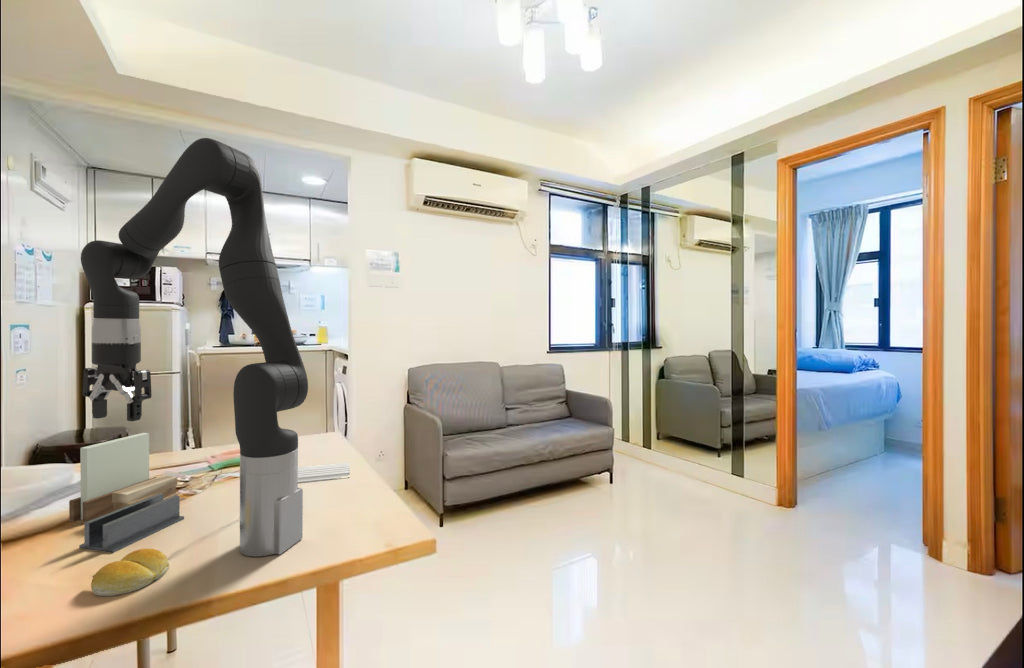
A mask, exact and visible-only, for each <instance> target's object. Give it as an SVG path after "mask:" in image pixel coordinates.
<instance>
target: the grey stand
mask: <svg viewBox="0 0 1024 668" xmlns="http://www.w3.org/2000/svg"><path fill="white" fill-rule="evenodd" d="M180 498H181V497H180V495H178V494H177V495H175V496H172V497H170V498H167V499H165V500H163V494H157V495H154V496H152V497H149V498H146V499H144V500H141V501H139V502H136V503H134V504H131V505H129V506H126V507H123V508H121V509H118V510H116V511H113V512H111V513H108V514H105V515H103V516H100V517H98V518H95V519H93V520H90V521H87V522H85V523H83V524H84V525H83V526H84V527H83V528H84V535H83V536H84V542H83V543H82V544H79V546H78V547H79V549H81V550H88V551H95V552H103V553H108V554H109V553H111V554H114V553H117V552H118V551H120V550H122V549H125V548H127V547H129V546H131V545H133V544H136V543H138V542H139V541H141V540H143V539H146V538H148V537H150V536H152V535H154V534H156V533H158V532H160V531H163V530H164V529H166V528H168V527H169V528H170V527H171V526H173V525H175V524H177V523H180V522H181V521H184V520H185V516H184V515H183V516H182V515H180V511H181V510H180V507H181V506H180V505H181V503H180V502H181V501H180Z"/></svg>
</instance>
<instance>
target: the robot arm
mask: <svg viewBox="0 0 1024 668" xmlns="http://www.w3.org/2000/svg"><path fill="white" fill-rule="evenodd" d="M261 179H262V178H261V173H260V170H259V167H258V165H257V163H256V161H255V160H254V159H253V158H252V157H250V155H248V154H247V153H245V152H242V151H240V150H239V149H237V148H234V147H233V146H230V145H227V144H226V143H223V142H221V141H219V140H217V139H213V138H209V137H201V138H199V139H196V140H195V141H193V142H192V143H191V144H189V146H187V148H186V149H185V150H184V151H183V152H182V154H181V155H180V156H179V158H178V159H177V161H176V162H175V164H174V165H173V166H172V167H171V169H170V171H169V172H168V174H167V175H166V176H165V178H164V179H163V181H162V183H161V184H160V185H159V187H158V189H157V190H156V192H155V193H154V194H153V196H152V197H151V198H150V199H149V201H148V202H147V203H146V204H145V205H144V206H143V207H142V208H141V209H140V210H139V211H137V213H136V214H134V215H133V216H132V217H131V218H130V219H129V220H128V221H127V222H126V223H124V224H123V225H122V227H120V229H119V231H118V239H119V241H120V243H119V242H112V241H106V240H91V241H90V242H87V244H85V245H84V247H83V248H82V251H81V253H80V264H81V267H82V270H83V273H84V275H85V277H86V280H87V283H88V286H89V289H90V292H91V295H92V299H93V307H92V309H93V313H92V314H93V318H92V326H91V363H92V364H93V365H96V366H94V367H85V368H83V374H82V375H83V376H82V393H81V394H82V396H83V397H84V398H87V397H88V399H89V400H90V401H91V413H92V419H98V420H99V419H103V418H106V417H107V416H108V399H107V398H108V396H109V395H110V393H111V392H112V391H114V392H115V391H116V392H118V393H119V394H120V395H122V396H123V397H124V399H125V400H126V401H127V403H126V420H127V422H135V421H139V420H141V419H142V414H143V412H142V410H143V409H142V405H143V402H144V401H145V400H149V399H152V378H151V377H152V375H151V374H152V373H151V370H150V369H141V370H138V369H137V364H139V363H141V361H142V340H141V338H142V329H141V322H140V296H139V295H138V293H136V292H135V291H132V290H129V289H126V288H122V287H120V285H119V284H118V283H117V281H116V278H117V279H126V280H127V279H128V280H136V279H140V278H142V277H144V276H146V275H147V274H148V273H150V271H151V269H152V268H153V265H154V263H155V261H156V260H157V258H158V256H159V253H160V252H161V251H162V250H163V249H164V248H165V247H166V246H167V245H168V244H170V243H171V242H172V241H173V240H174V239H176V237H177V236H179V234H180V233H181V231H182V229H183V227H184V224H185V215H186V214H185V212H186V205H187V203H188V201H189V200H190V199H191V198H192V197H193V196H195V195H196V194H197V193H199V192H201V191H203V190H204V191H207V192H210V193H213V194H216V195H218V196H223V197H224V198H225V200H226V201H227V204H228V208H229V212H230V217H231V218H230V220H231V228H230V231H229V234H228V235H227V238H226V240H225V241H224V243H223V246H222V248H221V251H220V253H219V257H218V271H219V275H220V278H221V283H222V287H223V292H224V296H225V298H226V300H227V302H228V303H229V305H230V306H231V308H232V309H233V310H234V311H235V312H236V314H237V315H238V316H239V318H241V319H242V321H243V322H244V323H245V324H246V325H247V326H248V327H249V329H250V330H251V331H252V333H254V335H255V337H256V338H257V341H258V342H259V344H260V347H261V351H262V353H263V356H264V360H265V362H257V363H256V362H255V363H250V364H246V365H244V366H243V367H242V368H240V370H239V371H238V372H237V374H236V376H235V380H234V384H233V395H232V396H233V412H234V413H233V414H234V427H235V428H234V430H235V436H236V439H237V441H238V444H239V472H240V477H239V551H240V553H241V554H242V555H244V556H248V557H264V556H265V557H266V556H272V555H281V554H283V553H284V552H285V551H287V550H288V549H289V548H291V547H293V546H294V545H295V544H297V543H298V542H299V541H301V540H302V539H303V530H304V529H303V523H304V522H303V521H304V520H303V514H304V513H303V509H304V507H303V506H304V505H303V503H304V501H303V500H304V499H303V497H304V490H303V488H301V487H299V483H298V467H299V465H298V464H299V435H298V433H297V432H296V431H295V430H293V429H288V428H284V427H283V428H282V427H280V426H279V421H278V412H282V411H283V412H284V411H287V410H291V409H296V408H297V407H300V406H301V405H303V403H304V402H305V401H306V398H307V397H308V394H309V393H308V392H309V381H308V380H309V379H308V376H307V371H306V368H305V365H304V362H303V359H302V357H301V353H300V351H299V348H298V345H297V343H296V339H295V337H294V333H293V330H292V327H291V324H290V320H289V316H288V312H287V308H286V304H285V300H284V297H283V291H282V288H281V287H282V286H281V282H280V277H279V273H278V269H277V264H276V261H275V258H274V254H273V249H272V245H271V239H270V235H269V229H268V225H267V219H266V212H265V204H264V194H263V193H264V192H263V184H262V180H261ZM92 385H93V386H92ZM90 386H92V389H91V387H90ZM90 389H91V390H90ZM142 389H143V391H142Z"/></svg>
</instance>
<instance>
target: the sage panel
mask: <svg viewBox="0 0 1024 668" xmlns="http://www.w3.org/2000/svg"><path fill="white" fill-rule="evenodd" d="M79 449H80V451H79V453H80V456H79V457H80V466H79V468H80V497H81V520H83V502H85V501H87V500H90V499H93V498H96V497H99V496H102V495H105V494H108V493H110V492H113V491H116V490H119V489H122V488H125V487H128V486H131V485H133V484H136V483H139V482H142V481H145V480H148V479H150V433H149V432H141V433H138V434H137V433H136V434H132V435H129V436H124V437H121V438H117V439H111V440H108V441H105V442H104V441H103V442H100V443H95V444H91V445H87V446H83V447H80V448H79Z"/></svg>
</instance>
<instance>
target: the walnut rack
mask: <svg viewBox="0 0 1024 668" xmlns="http://www.w3.org/2000/svg"><path fill="white" fill-rule="evenodd" d="M157 477H158V476H154V477H150V478H149V479H148V480H151V479H154V478H157ZM148 480H145V481H148ZM145 481H142V482H145ZM142 482H139V483H142ZM139 483H136V484H139ZM136 484H133V485H136ZM133 485H131V486H133ZM131 486H128V487H131ZM128 487H125V488H128ZM125 488H122V489H125ZM122 489H119V490H122ZM119 490H116V491H119ZM116 491H113V492H116ZM113 492H110V493H108V494H105V495H102V496H99V497H96V498H93V499H90V500H87V501H85V502H83V520H81V496H80V497H76V498H73V499H70V500H69V501H68V507H69V510H68V511H69V512H68V515H69V520H68V522H69V523H70V522H73V523H79V524H80V523H81V524H84V523H85V522H87V521H90V520H93V519H95V518H98V517H100V516H103V515H105V514H108V513H111V512H113V502H112V493H113ZM184 500H187V497H180V502H181V501H184Z"/></svg>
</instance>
